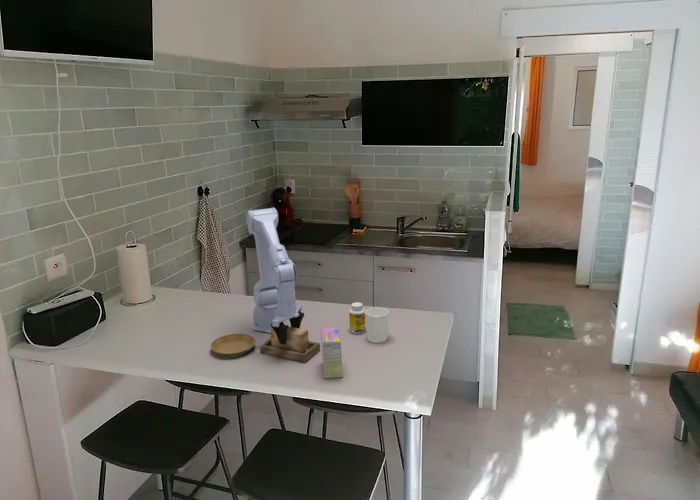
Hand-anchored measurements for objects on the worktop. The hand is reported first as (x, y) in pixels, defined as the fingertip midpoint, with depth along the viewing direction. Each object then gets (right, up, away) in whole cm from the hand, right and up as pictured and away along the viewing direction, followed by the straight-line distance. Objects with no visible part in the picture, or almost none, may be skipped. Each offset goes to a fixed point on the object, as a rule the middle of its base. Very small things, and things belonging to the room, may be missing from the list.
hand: (289, 338), depth 176 cm
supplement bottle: (+23, 0, +15) cm, 27 cm away
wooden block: (0, -3, +1) cm, 3 cm away
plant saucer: (-19, -5, +5) cm, 20 cm away
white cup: (+29, -2, +8) cm, 31 cm away
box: (+14, -8, -11) cm, 20 cm away
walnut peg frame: (0, -5, +1) cm, 5 cm away
